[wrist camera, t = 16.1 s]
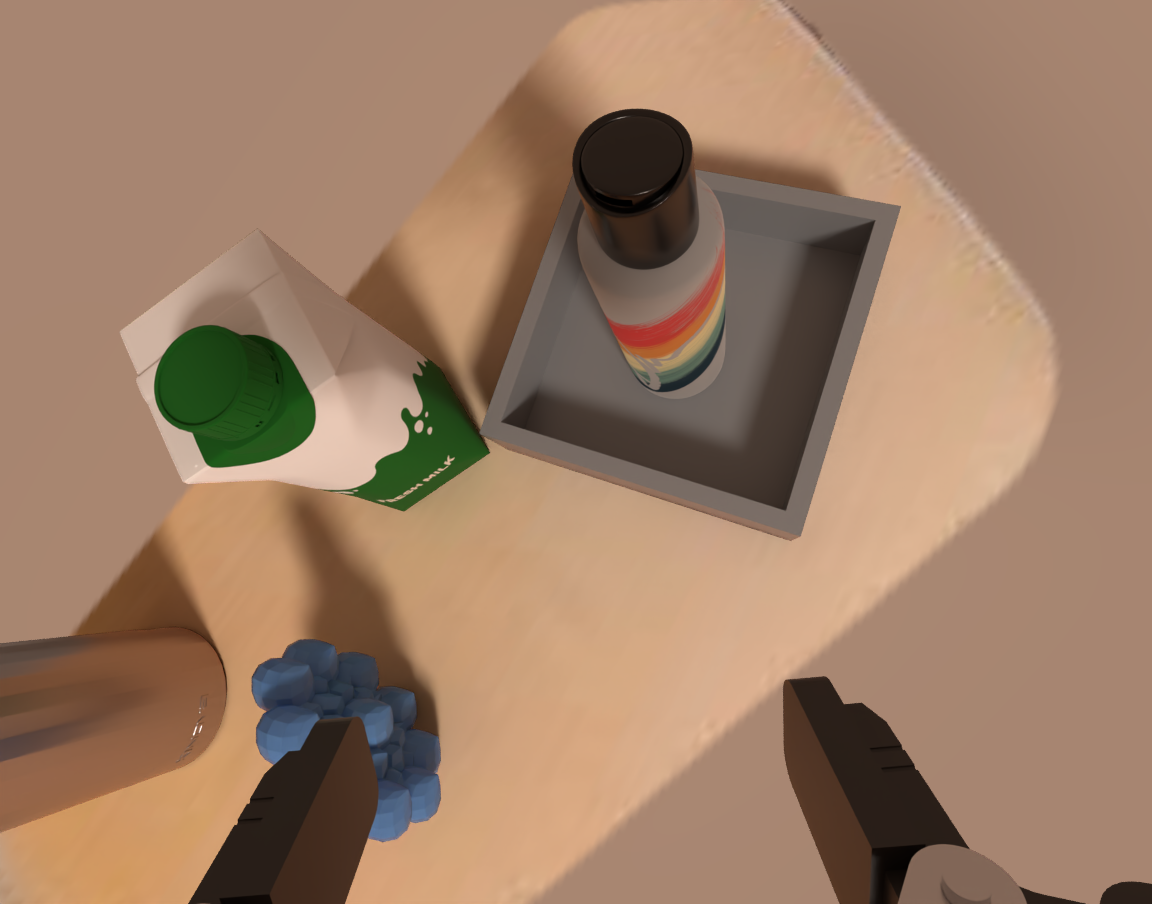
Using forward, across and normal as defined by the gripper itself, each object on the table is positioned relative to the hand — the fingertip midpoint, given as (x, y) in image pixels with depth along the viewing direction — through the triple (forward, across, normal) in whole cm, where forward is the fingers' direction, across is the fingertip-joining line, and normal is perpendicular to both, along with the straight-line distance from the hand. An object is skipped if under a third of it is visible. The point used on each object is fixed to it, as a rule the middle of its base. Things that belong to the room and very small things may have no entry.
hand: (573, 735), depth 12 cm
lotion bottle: (+29, -6, -2) cm, 30 cm away
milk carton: (+31, +10, +2) cm, 33 cm away
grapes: (+23, +13, +18) cm, 32 cm away
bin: (+30, -7, -2) cm, 31 cm away
